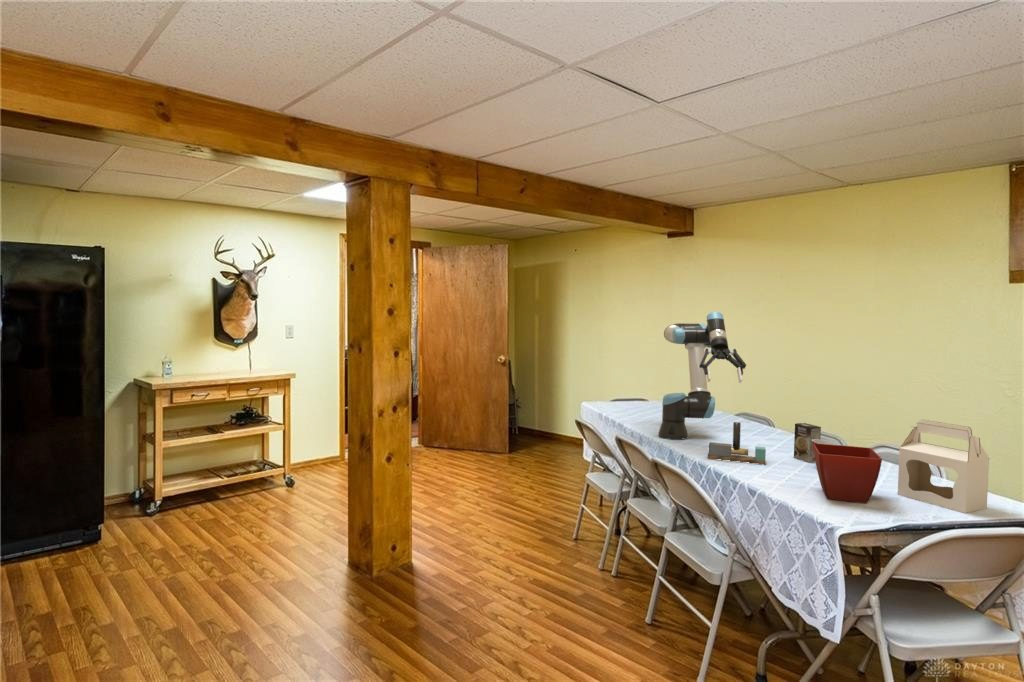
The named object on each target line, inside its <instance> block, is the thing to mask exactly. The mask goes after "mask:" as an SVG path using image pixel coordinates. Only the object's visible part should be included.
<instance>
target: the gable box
mask: <svg viewBox="0 0 1024 682" xmlns="http://www.w3.org/2000/svg"><path fill="white" fill-rule="evenodd" d="M972 431H973V430H972V428H971V427H970V426H965V425H960V424H954V423H946V422H940V421H935V420H929V419H919V420H918V422H916V426H910V432H909V434H908V436H907V437H906V438H905V440H904V441H903V443H902V444H901V446H900V447H899V451H898V453H899V455H898V458H899V459H898V475H897V477H898V478H897V479H898V481H897V495H898V496H901V497H906V498H908V499H909V498H910V499H913V500H916V501H920V502H924V503H927V504H930V505H934V506H937V507H941V508H945V509H948V510H952V511H956V512H959V513H963V514H968V513H972V512H977V511H980V510H984V509H987V508H988V495H989V494H988V492H989V474H990V473H989V471H990V457H989V456H988V454H987V452H986V451H985V449H984V447H983V446H982V444H981V438H980V437H977V436H975V435H973V432H972ZM921 433H923V434H930V435H937V436H940V437H941V436H943V437H946V438H954V439H958V440H963V441H967V442H968V450H962V449H957V448H952V447H949V446H947V447H946V446H942V445H936V444H931V443H927V442H922V440H921V439H922V438H921ZM930 465H931V466H934V467H939V468H940V467H941V468H948V469H952V470H954V471H955V472H956V473H957V478H956V480H955V482H954V483H953V486H952V487H951V486H938V485H934V484H933V483H932V481H931V478H932V470H931V466H930Z"/></svg>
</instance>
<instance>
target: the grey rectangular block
mask: <svg viewBox="0 0 1024 682" xmlns="http://www.w3.org/2000/svg"><path fill="white" fill-rule="evenodd" d="M731 448H733V443H723V442H721V443H720V442H712V441H710V442H709V444H708V452H709V455H711V456H721V457H731V455H732V454H731Z"/></svg>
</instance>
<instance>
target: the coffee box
mask: <svg viewBox="0 0 1024 682" xmlns="http://www.w3.org/2000/svg"><path fill="white" fill-rule="evenodd" d="M821 434H822V427H821V426H819V425H815V424H810V423H806V422H802V423H801V422H798V423H797V422H796V423H795V424H794V440H793V441H794V442H793V445H794V446H793V458H794V459H796V460H800V461H802V462H806V463H816V461H815V455H814V448H813V443H812V439H819V440H821Z"/></svg>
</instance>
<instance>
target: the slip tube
mask: <svg viewBox="0 0 1024 682" xmlns="http://www.w3.org/2000/svg"><path fill="white" fill-rule="evenodd" d="M741 423H742V422H739V421H734V422H733V427H732V428H733V429H732V448H731V455H741V456H749V448H743V447H741V426H742V425H741Z"/></svg>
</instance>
